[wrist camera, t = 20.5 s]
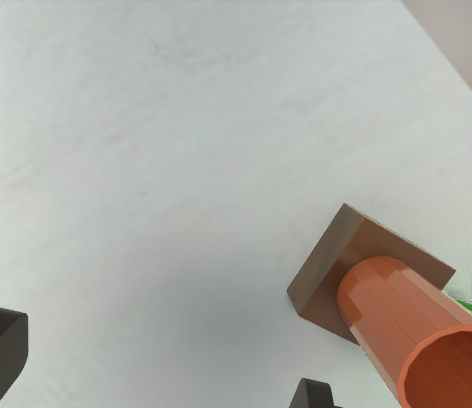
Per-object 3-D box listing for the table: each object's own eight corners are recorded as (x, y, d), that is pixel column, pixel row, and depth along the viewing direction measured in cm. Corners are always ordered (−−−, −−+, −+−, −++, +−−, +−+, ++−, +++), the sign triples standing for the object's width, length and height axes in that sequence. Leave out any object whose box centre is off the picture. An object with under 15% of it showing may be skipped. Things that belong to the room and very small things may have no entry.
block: (344, 202, 30) (365, 217, 26) (426, 250, 32) (456, 270, 28) (286, 290, 32) (298, 316, 28) (367, 331, 34) (389, 360, 30)
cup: (367, 240, 27) (448, 305, 18) (433, 278, 28) (536, 354, 20) (320, 310, 28) (374, 401, 19) (385, 342, 29) (462, 442, 21)
